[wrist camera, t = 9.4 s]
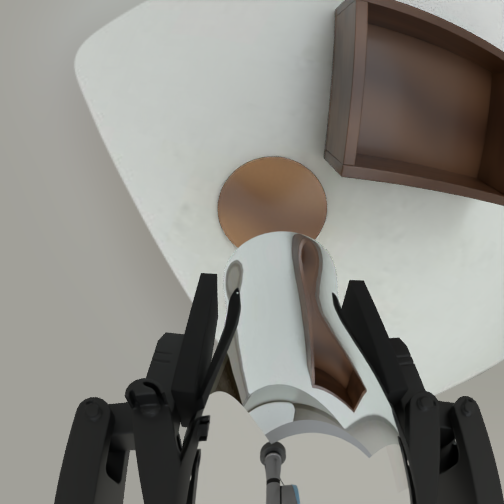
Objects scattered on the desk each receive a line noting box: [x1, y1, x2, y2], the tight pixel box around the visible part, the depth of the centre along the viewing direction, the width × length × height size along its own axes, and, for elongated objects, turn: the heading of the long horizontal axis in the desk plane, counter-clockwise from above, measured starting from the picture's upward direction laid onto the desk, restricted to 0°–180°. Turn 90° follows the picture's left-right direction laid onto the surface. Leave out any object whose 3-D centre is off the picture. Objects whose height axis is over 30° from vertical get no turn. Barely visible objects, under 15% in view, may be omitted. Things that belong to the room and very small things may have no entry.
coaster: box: [218, 157, 327, 247], centre depth 24 cm, size 9×9×1 cm
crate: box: [324, 0, 504, 206], centre depth 17 cm, size 13×17×5 cm
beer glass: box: [175, 231, 419, 504], centre depth 10 cm, size 7×7×15 cm
